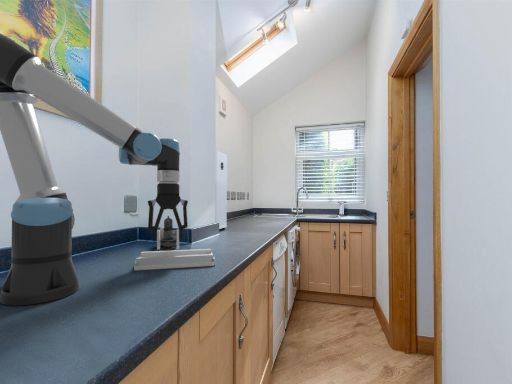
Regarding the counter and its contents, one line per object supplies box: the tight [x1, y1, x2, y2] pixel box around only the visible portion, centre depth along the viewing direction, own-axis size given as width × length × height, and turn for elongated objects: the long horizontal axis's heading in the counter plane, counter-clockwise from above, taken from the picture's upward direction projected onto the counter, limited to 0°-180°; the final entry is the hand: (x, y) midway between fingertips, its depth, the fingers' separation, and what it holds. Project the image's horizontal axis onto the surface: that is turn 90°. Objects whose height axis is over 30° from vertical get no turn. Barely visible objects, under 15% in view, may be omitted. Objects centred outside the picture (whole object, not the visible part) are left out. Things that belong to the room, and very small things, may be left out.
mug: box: [159, 226, 177, 247], centre depth 128 cm, size 10×12×10 cm
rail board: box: [133, 248, 216, 271], centre depth 97 cm, size 26×12×4 cm, turn 105°
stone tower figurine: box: [159, 215, 177, 251], centre depth 96 cm, size 6×6×12 cm
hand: (168, 248), depth 96 cm, fingers closed on stone tower figurine, 6 cm apart
